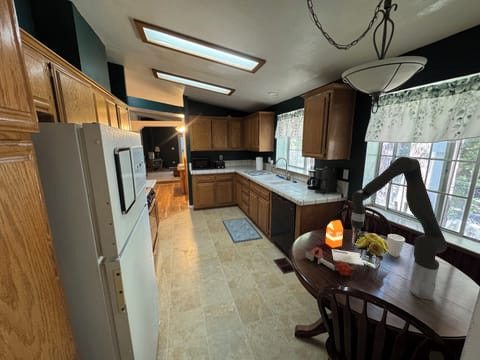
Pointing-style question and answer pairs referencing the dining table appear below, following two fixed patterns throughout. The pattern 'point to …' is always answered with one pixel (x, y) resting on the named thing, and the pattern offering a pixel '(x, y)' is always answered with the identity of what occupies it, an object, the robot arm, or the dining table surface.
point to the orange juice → (334, 234)
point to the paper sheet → (346, 257)
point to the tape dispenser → (318, 253)
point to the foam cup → (395, 244)
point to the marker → (353, 239)
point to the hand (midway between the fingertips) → (355, 241)
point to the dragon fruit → (344, 268)
